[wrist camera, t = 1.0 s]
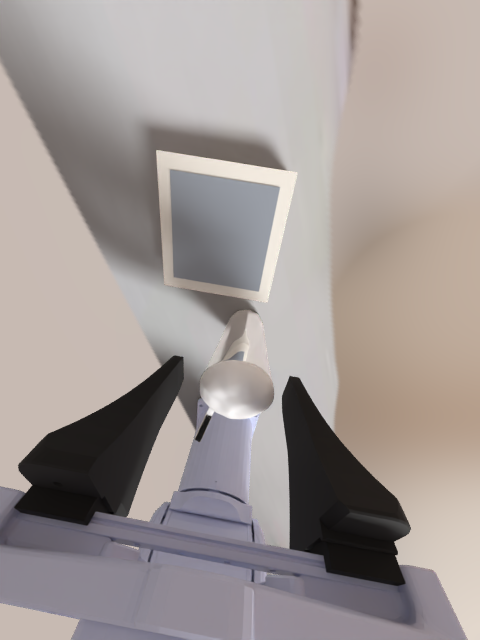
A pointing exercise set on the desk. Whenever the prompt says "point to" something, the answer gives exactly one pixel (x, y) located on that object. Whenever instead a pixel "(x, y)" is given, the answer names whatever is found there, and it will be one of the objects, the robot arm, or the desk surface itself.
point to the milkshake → (237, 372)
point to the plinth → (221, 224)
